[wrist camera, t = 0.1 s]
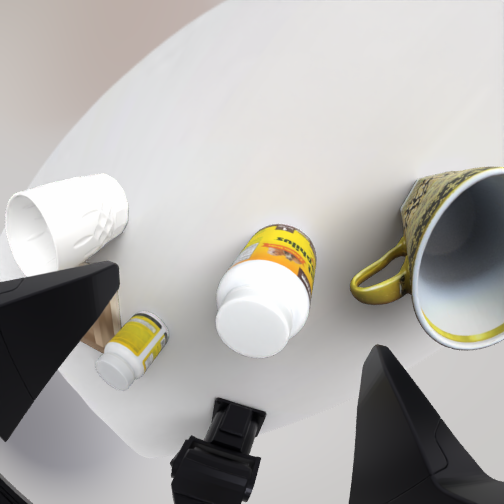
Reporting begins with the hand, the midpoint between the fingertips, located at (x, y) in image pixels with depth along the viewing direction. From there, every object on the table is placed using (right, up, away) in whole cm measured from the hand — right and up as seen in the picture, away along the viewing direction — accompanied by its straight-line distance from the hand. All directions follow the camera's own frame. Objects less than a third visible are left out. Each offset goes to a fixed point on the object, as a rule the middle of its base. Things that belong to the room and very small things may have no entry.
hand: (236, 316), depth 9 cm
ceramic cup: (+14, +5, +11) cm, 18 cm away
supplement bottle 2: (+3, +2, +15) cm, 15 cm away
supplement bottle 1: (-11, -6, +22) cm, 26 cm away
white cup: (-14, +7, +18) cm, 24 cm away
